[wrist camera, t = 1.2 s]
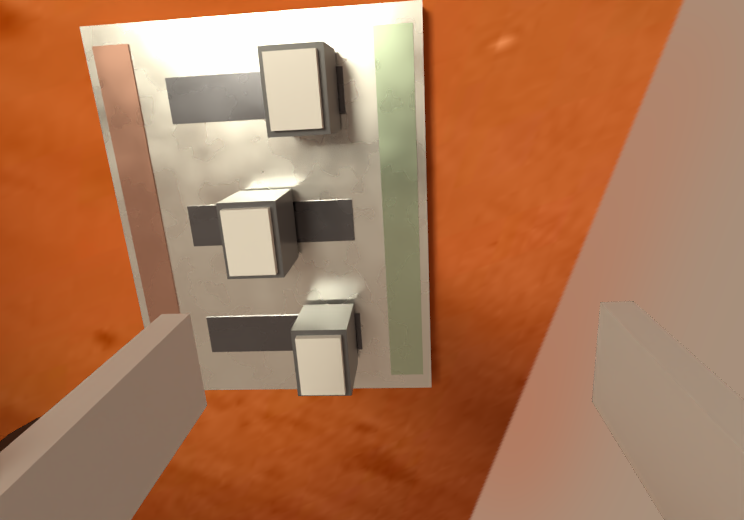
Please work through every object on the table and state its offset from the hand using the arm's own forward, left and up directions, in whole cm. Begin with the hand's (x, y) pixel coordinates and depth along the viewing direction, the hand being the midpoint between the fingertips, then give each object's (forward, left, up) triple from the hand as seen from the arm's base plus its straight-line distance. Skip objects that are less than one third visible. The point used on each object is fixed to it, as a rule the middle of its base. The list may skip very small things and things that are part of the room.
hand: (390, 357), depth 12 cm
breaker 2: (-5, +7, -16) cm, 18 cm away
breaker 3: (-5, -7, -16) cm, 18 cm away
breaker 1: (-8, 0, -16) cm, 18 cm away
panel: (-8, 0, -18) cm, 19 cm away
